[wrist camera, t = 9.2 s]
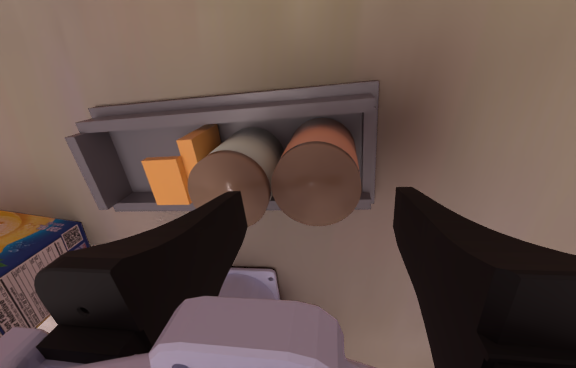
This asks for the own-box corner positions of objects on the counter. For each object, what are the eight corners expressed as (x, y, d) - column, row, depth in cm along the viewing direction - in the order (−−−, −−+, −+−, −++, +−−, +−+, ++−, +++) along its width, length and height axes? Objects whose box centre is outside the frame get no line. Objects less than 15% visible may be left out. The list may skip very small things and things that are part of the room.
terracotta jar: (356, 178, 20) (362, 225, 15) (293, 181, 21) (278, 226, 16) (354, 114, 18) (360, 142, 12) (285, 121, 19) (264, 149, 13)
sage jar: (283, 189, 21) (266, 234, 16) (226, 180, 22) (191, 222, 16) (287, 131, 19) (270, 161, 14) (224, 123, 20) (183, 149, 14)
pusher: (230, 186, 22) (207, 217, 18) (193, 187, 22) (162, 217, 18) (217, 123, 19) (186, 142, 15) (175, 126, 20) (135, 145, 16)
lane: (373, 199, 21) (380, 225, 18) (133, 203, 25) (104, 224, 22) (377, 80, 17) (387, 86, 14) (94, 107, 21) (51, 116, 18)
